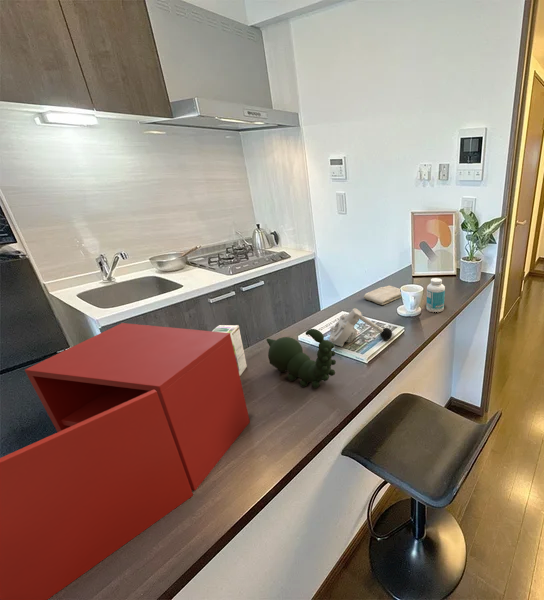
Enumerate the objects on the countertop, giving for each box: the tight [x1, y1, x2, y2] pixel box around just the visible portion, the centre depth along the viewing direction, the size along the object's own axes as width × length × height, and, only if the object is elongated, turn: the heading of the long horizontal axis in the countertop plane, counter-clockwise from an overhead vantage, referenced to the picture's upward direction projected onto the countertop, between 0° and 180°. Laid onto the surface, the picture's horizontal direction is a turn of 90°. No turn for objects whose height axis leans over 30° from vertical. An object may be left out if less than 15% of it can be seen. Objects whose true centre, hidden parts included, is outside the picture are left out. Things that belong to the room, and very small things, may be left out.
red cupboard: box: [24, 322, 251, 491], centre depth 67 cm, size 18×26×24 cm
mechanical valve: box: [329, 307, 393, 348], centre depth 113 cm, size 10×18×15 cm
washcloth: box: [363, 284, 402, 306], centre depth 150 cm, size 12×18×3 cm, turn 140°
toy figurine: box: [265, 328, 337, 389], centre depth 91 cm, size 9×19×25 cm
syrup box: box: [212, 324, 248, 376], centre depth 94 cm, size 6×6×14 cm
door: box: [0, 390, 194, 600], centre depth 45 cm, size 7×26×24 cm, turn 144°
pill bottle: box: [426, 277, 446, 314], centre depth 136 cm, size 8×7×14 cm
